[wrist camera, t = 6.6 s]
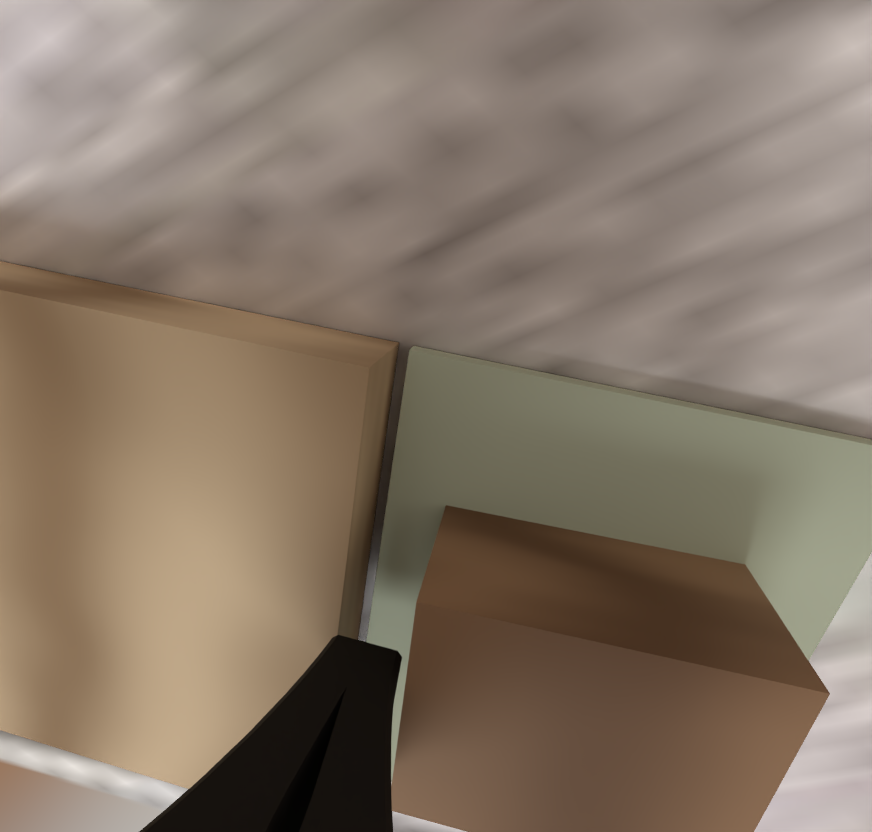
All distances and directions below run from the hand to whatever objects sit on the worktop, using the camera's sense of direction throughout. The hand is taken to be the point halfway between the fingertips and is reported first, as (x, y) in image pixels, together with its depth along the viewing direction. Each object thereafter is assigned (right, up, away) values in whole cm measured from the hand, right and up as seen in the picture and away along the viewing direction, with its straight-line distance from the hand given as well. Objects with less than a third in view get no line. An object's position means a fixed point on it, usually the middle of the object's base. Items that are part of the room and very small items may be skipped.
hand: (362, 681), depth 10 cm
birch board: (-7, +3, +3) cm, 8 cm away
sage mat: (+5, 0, +2) cm, 5 cm away
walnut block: (+4, 0, +1) cm, 5 cm away
